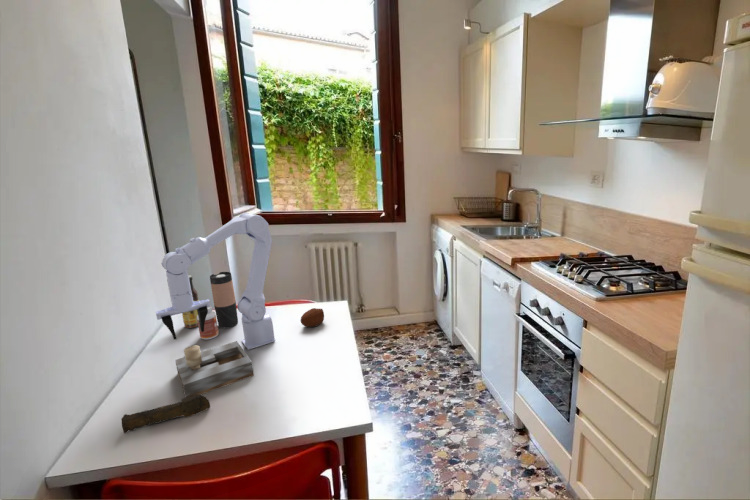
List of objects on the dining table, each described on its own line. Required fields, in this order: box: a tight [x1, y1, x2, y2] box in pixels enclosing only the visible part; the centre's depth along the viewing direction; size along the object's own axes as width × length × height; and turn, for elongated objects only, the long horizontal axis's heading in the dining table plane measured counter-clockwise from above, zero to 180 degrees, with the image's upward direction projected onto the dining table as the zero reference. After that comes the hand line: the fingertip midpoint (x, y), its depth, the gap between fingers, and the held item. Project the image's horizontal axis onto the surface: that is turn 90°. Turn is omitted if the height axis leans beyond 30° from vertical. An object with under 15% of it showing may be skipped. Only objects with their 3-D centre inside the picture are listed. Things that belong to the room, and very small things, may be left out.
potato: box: [300, 307, 325, 328], centre depth 140 cm, size 7×9×6 cm
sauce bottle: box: [181, 274, 200, 329], centre depth 144 cm, size 6×6×20 cm
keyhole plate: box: [175, 340, 255, 397], centre depth 111 cm, size 18×16×4 cm
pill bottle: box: [197, 305, 219, 341], centre depth 135 cm, size 6×6×11 cm
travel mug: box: [209, 271, 239, 329], centre depth 143 cm, size 8×8×20 cm
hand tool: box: [121, 394, 211, 434], centre depth 93 cm, size 19×4×5 cm, turn 109°
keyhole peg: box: [183, 344, 202, 370], centre depth 108 cm, size 5×5×9 cm
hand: (188, 334), depth 115 cm, fingers open, 7 cm apart
